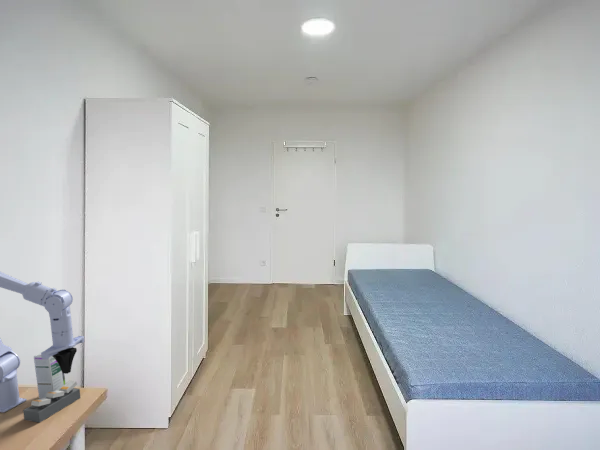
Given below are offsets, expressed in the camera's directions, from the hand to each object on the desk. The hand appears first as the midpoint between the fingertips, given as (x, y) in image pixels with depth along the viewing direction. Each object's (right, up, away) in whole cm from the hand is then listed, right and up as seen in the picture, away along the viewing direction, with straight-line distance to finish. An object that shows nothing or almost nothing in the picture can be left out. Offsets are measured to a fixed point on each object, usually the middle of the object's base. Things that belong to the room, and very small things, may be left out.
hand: (66, 372), depth 140 cm
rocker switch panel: (-2, -10, -3) cm, 11 cm away
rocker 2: (-1, -5, -4) cm, 7 cm away
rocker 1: (-3, -6, -9) cm, 11 cm away
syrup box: (-8, -10, +6) cm, 14 cm away
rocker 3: (0, -5, +1) cm, 5 cm away
